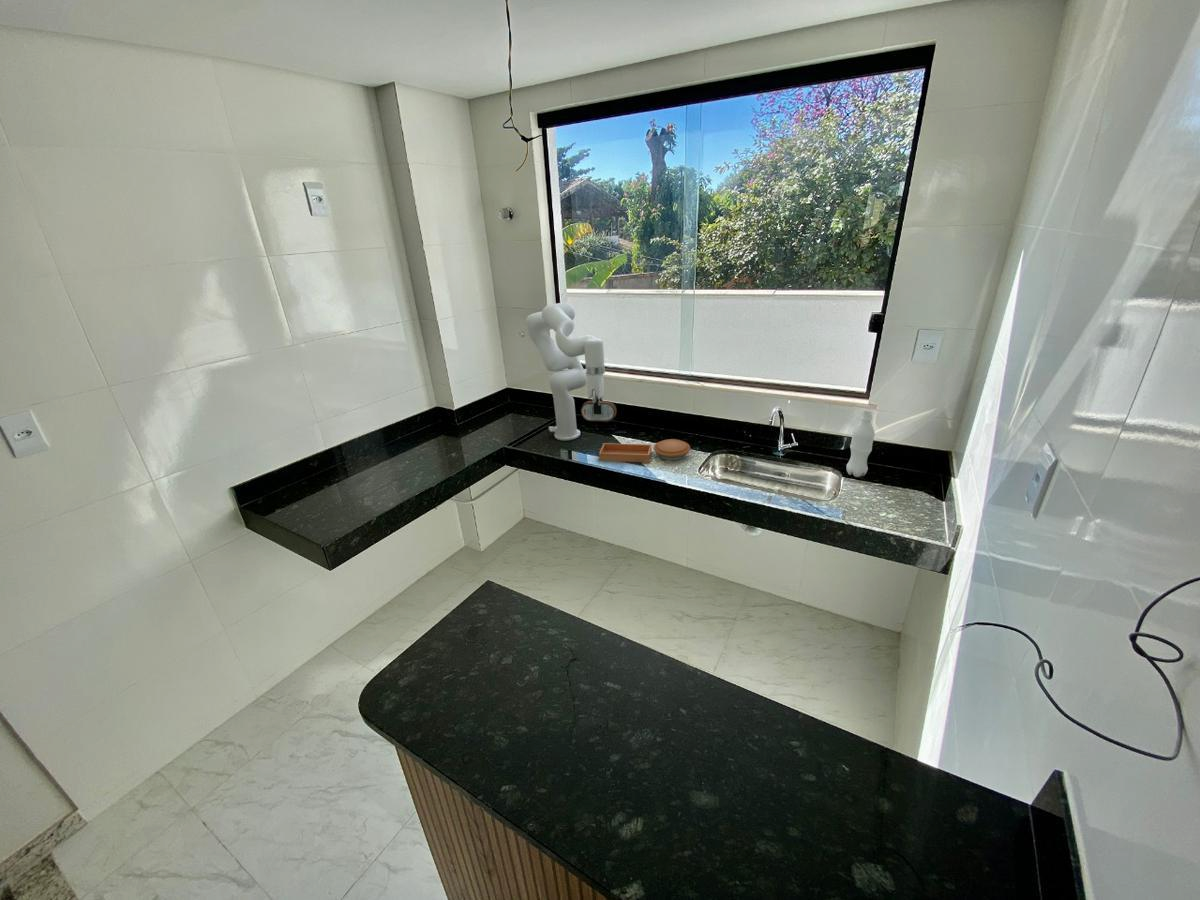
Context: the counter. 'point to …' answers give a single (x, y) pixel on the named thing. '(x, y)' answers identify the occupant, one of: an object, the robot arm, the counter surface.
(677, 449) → the pie
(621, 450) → the brown wooden tray
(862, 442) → the water bottle
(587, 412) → the tin
